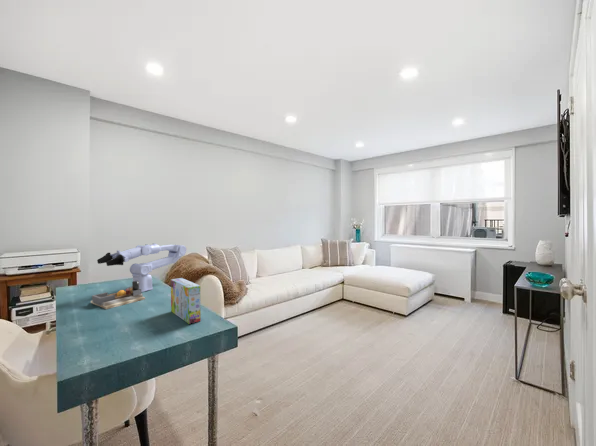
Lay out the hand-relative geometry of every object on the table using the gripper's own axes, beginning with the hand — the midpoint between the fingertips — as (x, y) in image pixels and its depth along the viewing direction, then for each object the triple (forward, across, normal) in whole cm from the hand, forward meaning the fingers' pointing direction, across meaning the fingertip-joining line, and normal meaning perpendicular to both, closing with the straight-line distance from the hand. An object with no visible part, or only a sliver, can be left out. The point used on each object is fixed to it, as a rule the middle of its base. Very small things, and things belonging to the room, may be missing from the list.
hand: (102, 262), depth 145 cm
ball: (-2, +8, +17) cm, 19 cm away
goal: (+6, +7, +17) cm, 20 cm away
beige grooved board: (0, +9, +19) cm, 21 cm away
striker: (-5, +12, +19) cm, 23 cm away
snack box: (+2, +58, +15) cm, 60 cm away
